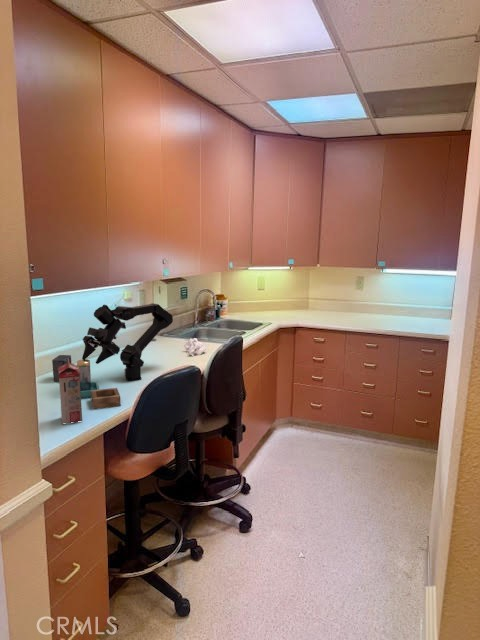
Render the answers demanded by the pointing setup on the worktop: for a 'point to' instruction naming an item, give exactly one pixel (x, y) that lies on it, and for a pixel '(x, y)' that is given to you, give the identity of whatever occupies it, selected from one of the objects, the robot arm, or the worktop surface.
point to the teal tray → (88, 393)
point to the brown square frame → (105, 398)
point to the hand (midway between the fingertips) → (89, 361)
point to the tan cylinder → (84, 374)
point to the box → (59, 365)
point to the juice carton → (70, 393)
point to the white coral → (194, 344)
